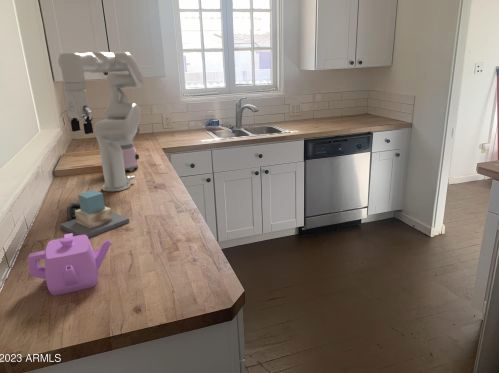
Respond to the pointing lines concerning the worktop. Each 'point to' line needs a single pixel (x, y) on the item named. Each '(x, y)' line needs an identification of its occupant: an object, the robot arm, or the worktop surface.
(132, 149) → the blender
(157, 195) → the worktop surface
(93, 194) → the teal block
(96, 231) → the stacking base
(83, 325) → the worktop surface
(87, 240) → the teakettle
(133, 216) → the worktop surface
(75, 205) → the chocolate cake
